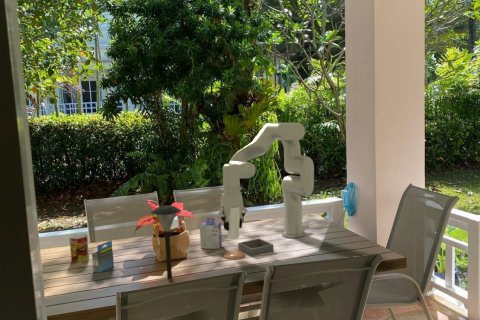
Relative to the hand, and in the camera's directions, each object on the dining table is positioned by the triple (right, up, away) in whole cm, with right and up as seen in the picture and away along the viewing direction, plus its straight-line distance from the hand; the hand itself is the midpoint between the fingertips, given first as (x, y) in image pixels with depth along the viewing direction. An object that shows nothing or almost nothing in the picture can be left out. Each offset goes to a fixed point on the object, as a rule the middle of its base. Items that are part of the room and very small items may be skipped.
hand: (233, 228), depth 220 cm
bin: (+11, -12, +8) cm, 18 cm away
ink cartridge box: (-11, -12, +16) cm, 23 cm away
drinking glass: (0, -5, +1) cm, 5 cm away
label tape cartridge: (-57, -17, -10) cm, 60 cm away
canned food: (-72, -16, +3) cm, 73 cm away
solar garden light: (-26, -17, -22) cm, 38 cm away
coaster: (+1, -13, +2) cm, 13 cm away
